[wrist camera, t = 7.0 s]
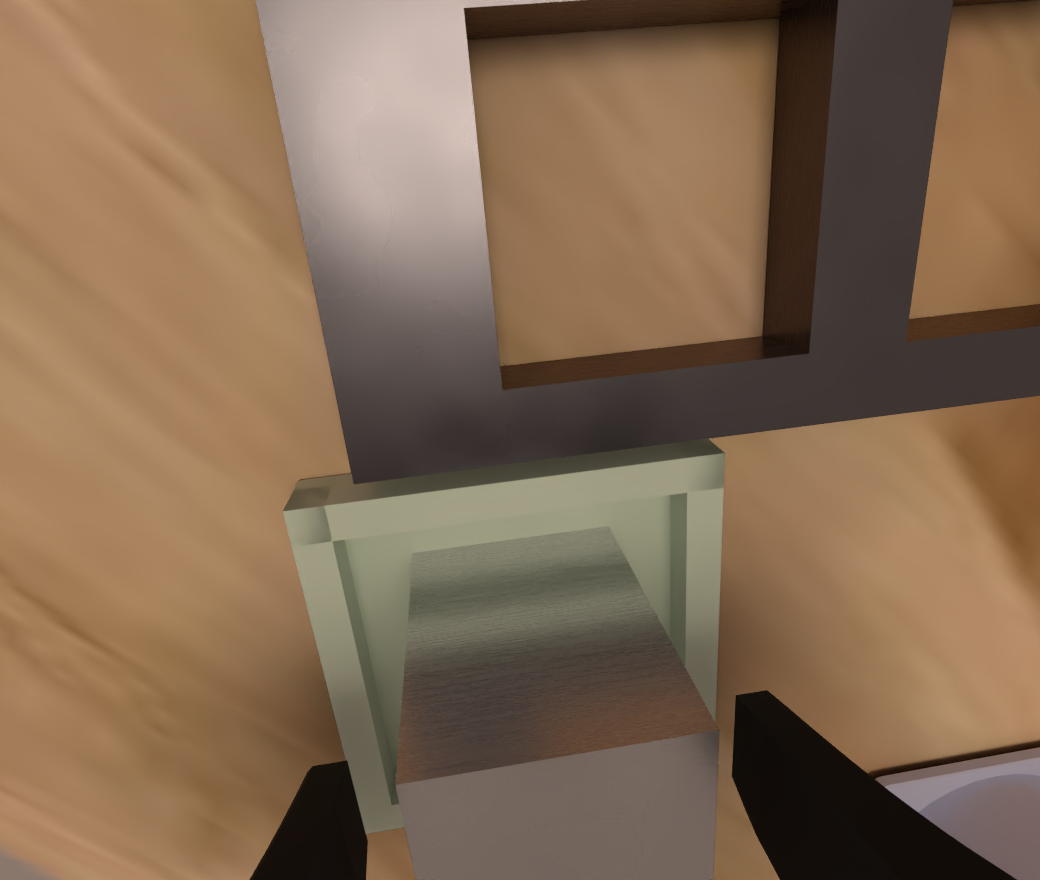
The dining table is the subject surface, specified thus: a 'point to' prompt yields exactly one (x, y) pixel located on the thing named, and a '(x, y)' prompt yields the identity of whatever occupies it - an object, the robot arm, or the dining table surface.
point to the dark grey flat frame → (638, 374)
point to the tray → (483, 519)
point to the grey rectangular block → (549, 720)
